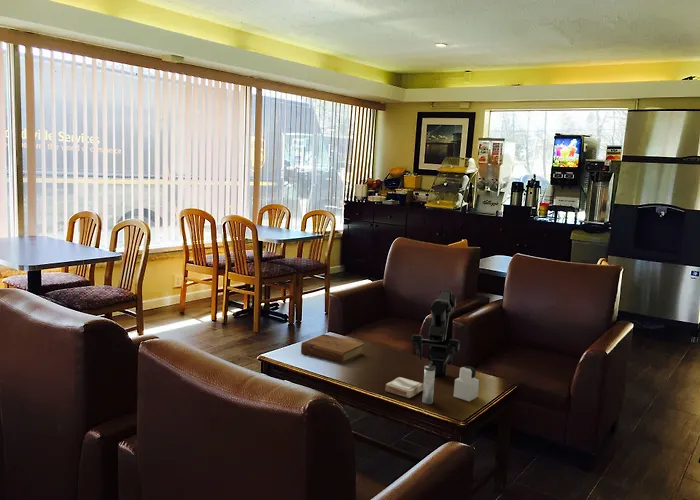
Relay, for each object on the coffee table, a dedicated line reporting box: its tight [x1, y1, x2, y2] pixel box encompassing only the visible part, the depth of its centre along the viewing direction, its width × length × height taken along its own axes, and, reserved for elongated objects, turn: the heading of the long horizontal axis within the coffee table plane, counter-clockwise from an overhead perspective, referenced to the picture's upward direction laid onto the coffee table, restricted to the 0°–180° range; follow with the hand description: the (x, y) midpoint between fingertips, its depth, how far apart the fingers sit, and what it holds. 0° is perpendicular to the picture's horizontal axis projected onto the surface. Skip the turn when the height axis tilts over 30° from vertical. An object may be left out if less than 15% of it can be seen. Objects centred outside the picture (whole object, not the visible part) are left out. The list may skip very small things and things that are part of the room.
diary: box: [300, 333, 365, 365], centre depth 270 cm, size 23×19×6 cm
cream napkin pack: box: [384, 376, 424, 399], centre depth 229 cm, size 11×11×3 cm
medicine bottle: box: [453, 365, 480, 402], centre depth 226 cm, size 7×7×12 cm
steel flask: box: [421, 364, 436, 405], centre depth 218 cm, size 4×4×14 cm
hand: (432, 362), depth 224 cm, fingers open, 9 cm apart
